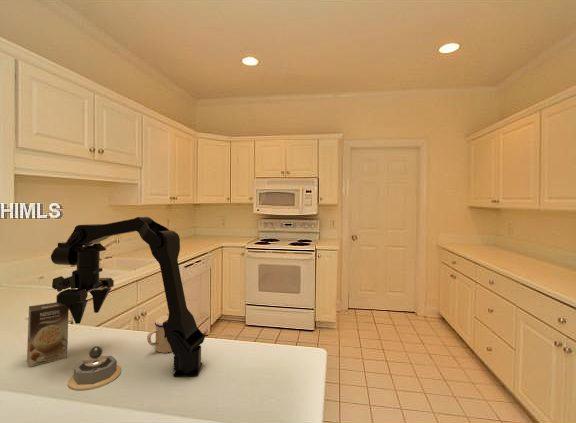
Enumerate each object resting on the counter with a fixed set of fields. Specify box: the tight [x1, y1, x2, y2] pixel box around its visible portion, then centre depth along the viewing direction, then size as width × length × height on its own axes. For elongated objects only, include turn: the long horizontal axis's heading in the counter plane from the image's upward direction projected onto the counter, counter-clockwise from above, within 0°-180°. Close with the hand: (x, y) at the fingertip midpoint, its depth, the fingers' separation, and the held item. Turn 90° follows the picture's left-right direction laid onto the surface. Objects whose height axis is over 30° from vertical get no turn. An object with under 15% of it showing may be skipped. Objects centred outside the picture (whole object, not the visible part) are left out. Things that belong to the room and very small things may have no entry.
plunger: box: [85, 345, 107, 371], centre depth 80 cm, size 5×5×7 cm
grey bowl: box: [67, 355, 122, 391], centre depth 80 cm, size 12×12×4 cm
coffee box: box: [26, 301, 70, 368], centre depth 90 cm, size 9×6×16 cm
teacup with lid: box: [146, 311, 172, 354], centre depth 97 cm, size 12×9×12 cm
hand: (87, 317), depth 89 cm, fingers open, 9 cm apart
